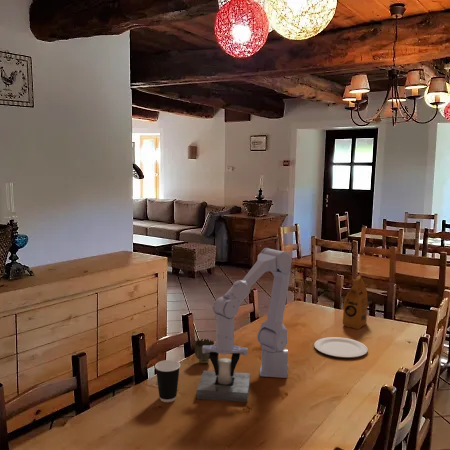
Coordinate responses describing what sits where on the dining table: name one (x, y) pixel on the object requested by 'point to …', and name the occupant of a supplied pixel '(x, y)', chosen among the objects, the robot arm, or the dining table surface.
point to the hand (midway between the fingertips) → (224, 374)
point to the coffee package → (355, 305)
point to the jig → (224, 387)
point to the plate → (341, 347)
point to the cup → (198, 350)
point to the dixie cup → (167, 379)
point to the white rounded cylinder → (224, 371)
